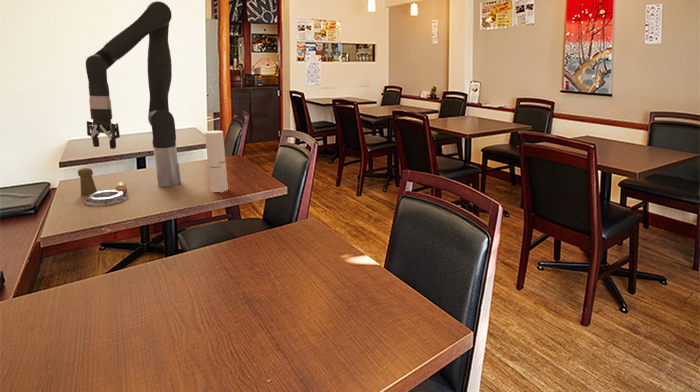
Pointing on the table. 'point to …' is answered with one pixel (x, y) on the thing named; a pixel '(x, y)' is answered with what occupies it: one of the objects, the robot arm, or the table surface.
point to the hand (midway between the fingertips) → (104, 147)
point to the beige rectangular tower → (216, 161)
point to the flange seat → (106, 198)
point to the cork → (86, 181)
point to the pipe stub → (121, 187)
